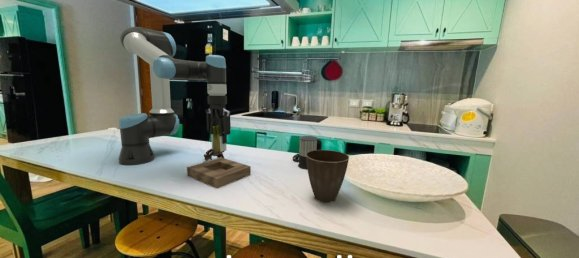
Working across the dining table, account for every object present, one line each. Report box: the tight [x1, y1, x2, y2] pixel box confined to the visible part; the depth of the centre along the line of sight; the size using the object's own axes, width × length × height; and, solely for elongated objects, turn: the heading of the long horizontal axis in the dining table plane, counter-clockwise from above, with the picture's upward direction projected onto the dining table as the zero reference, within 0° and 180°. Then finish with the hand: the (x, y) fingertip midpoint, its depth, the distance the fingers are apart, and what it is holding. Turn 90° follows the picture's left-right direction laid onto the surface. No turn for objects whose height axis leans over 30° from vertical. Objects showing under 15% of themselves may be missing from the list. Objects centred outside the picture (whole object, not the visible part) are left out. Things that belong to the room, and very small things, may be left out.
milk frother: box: [292, 135, 323, 170], centre depth 118 cm, size 14×16×15 cm
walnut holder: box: [186, 157, 252, 189], centre depth 101 cm, size 20×18×4 cm
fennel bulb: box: [213, 124, 225, 154], centre depth 98 cm, size 6×5×12 cm
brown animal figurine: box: [203, 147, 225, 162], centre depth 120 cm, size 12×10×8 cm
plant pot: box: [306, 149, 350, 204], centre depth 82 cm, size 15×15×16 cm
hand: (219, 149), depth 99 cm, fingers closed on fennel bulb, 5 cm apart
